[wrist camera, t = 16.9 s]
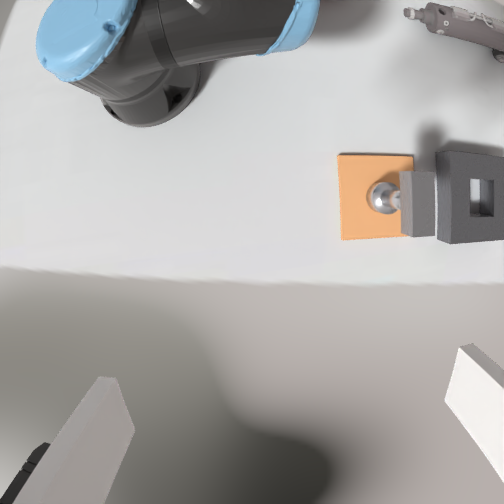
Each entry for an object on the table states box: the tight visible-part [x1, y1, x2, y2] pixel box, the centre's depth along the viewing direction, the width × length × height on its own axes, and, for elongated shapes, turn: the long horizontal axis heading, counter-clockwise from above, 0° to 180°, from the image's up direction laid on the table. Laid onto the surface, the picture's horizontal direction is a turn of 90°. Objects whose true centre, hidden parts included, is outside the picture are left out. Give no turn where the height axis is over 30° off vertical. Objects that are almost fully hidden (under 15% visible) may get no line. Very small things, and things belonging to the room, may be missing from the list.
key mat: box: [337, 155, 414, 240], centre depth 42 cm, size 12×12×1 cm
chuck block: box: [436, 151, 504, 244], centre depth 40 cm, size 14×14×4 cm
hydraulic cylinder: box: [404, 2, 504, 63], centre depth 31 cm, size 7×37×10 cm, turn 92°
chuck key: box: [366, 171, 435, 237], centre depth 35 cm, size 7×4×13 cm, turn 5°
